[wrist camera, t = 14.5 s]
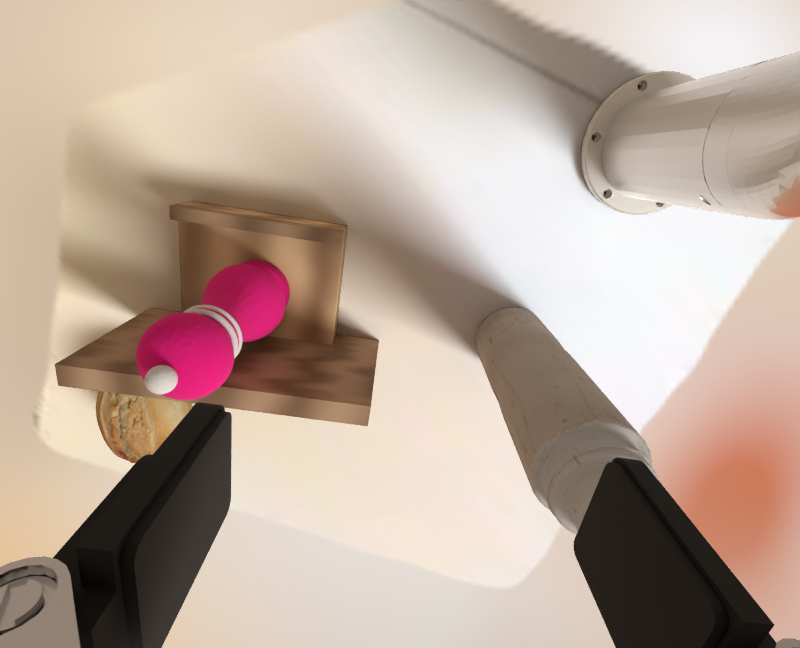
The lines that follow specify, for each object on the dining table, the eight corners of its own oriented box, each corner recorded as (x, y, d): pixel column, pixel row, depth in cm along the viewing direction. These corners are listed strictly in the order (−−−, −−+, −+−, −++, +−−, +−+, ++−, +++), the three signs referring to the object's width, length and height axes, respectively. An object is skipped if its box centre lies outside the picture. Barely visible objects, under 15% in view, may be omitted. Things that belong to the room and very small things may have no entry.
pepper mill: (217, 257, 42) (71, 334, 23) (288, 251, 42) (198, 325, 23) (233, 324, 45) (113, 441, 26) (300, 319, 44) (227, 434, 26)
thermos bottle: (499, 381, 51) (604, 617, 25) (461, 333, 48) (533, 537, 22) (557, 344, 49) (736, 556, 23) (520, 292, 46) (674, 463, 20)
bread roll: (151, 449, 55) (111, 495, 47) (107, 345, 49) (54, 379, 42) (222, 441, 54) (194, 486, 47) (186, 336, 49) (147, 368, 41)
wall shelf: (394, 233, 44) (392, 263, 31) (376, 355, 49) (367, 426, 36) (142, 193, 43) (29, 208, 30) (151, 324, 48) (58, 385, 35)
